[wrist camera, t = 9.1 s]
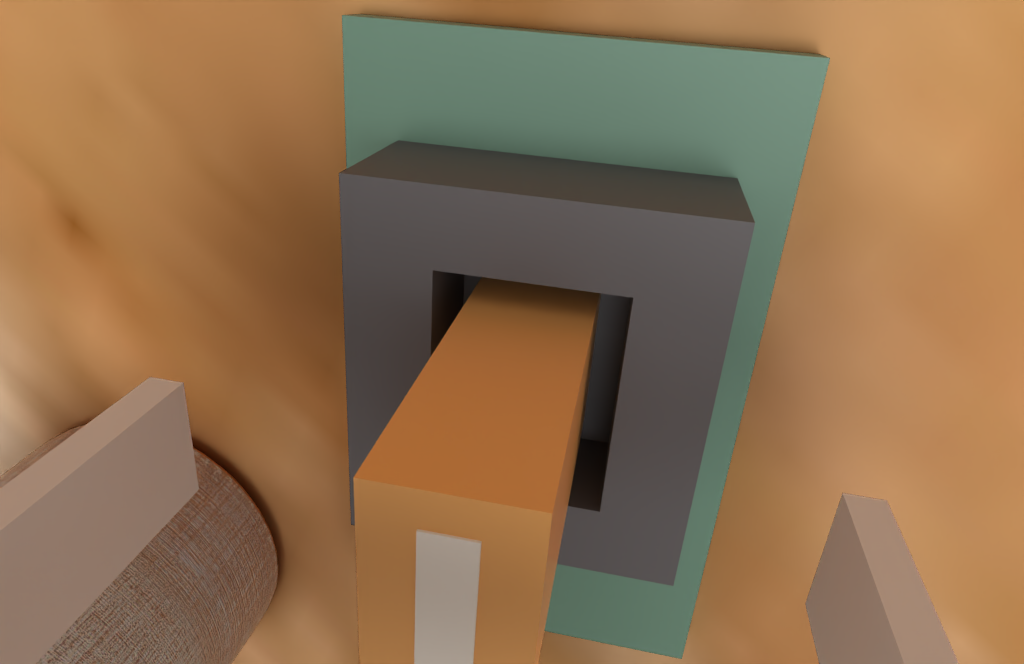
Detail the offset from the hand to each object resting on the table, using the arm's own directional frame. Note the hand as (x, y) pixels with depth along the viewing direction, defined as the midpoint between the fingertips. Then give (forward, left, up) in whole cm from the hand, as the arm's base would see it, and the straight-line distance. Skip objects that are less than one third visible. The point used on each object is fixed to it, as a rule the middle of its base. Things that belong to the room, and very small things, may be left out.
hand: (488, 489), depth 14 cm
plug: (0, 0, -7) cm, 7 cm away
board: (-2, 0, -9) cm, 9 cm away
